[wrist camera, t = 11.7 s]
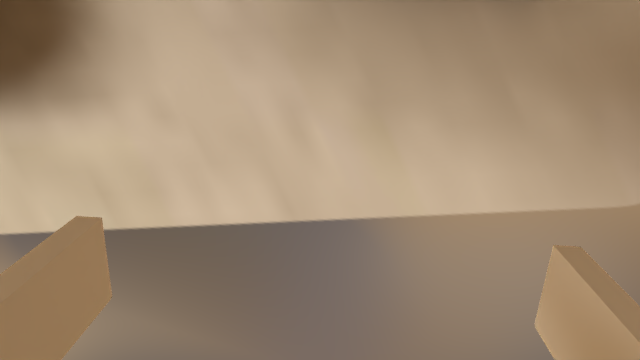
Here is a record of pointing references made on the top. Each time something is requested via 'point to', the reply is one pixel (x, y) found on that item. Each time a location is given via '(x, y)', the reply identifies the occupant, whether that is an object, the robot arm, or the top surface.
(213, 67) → the top surface
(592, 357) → the robot arm
